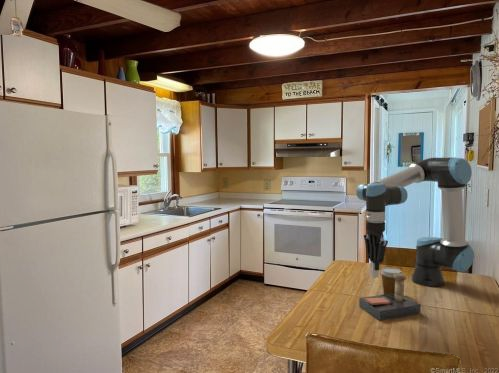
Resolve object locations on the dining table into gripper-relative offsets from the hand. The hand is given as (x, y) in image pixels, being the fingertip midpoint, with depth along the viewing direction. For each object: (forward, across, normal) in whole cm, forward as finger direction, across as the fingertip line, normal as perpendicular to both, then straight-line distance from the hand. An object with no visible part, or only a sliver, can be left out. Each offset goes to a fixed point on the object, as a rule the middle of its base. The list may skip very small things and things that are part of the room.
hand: (374, 276), depth 154 cm
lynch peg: (+16, 0, +12) cm, 20 cm away
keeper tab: (+11, 0, +2) cm, 11 cm away
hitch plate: (+16, 0, +7) cm, 17 cm away
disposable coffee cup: (+16, -14, +19) cm, 29 cm away
